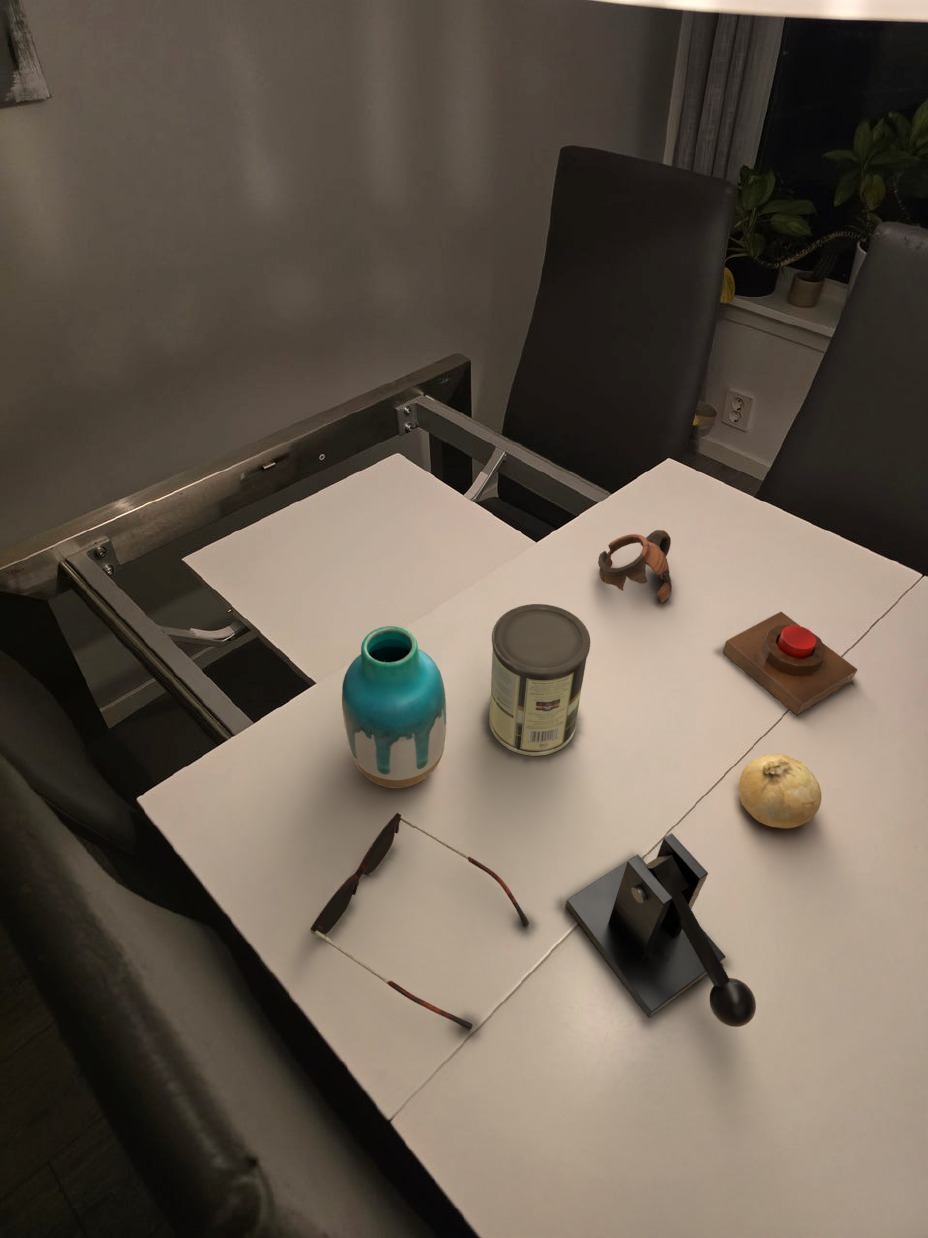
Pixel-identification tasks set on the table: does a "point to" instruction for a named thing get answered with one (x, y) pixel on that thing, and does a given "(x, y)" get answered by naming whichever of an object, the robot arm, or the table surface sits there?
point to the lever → (705, 950)
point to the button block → (788, 665)
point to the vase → (394, 709)
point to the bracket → (644, 927)
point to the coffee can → (537, 678)
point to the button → (796, 641)
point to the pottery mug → (639, 561)
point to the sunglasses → (368, 866)
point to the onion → (779, 791)
